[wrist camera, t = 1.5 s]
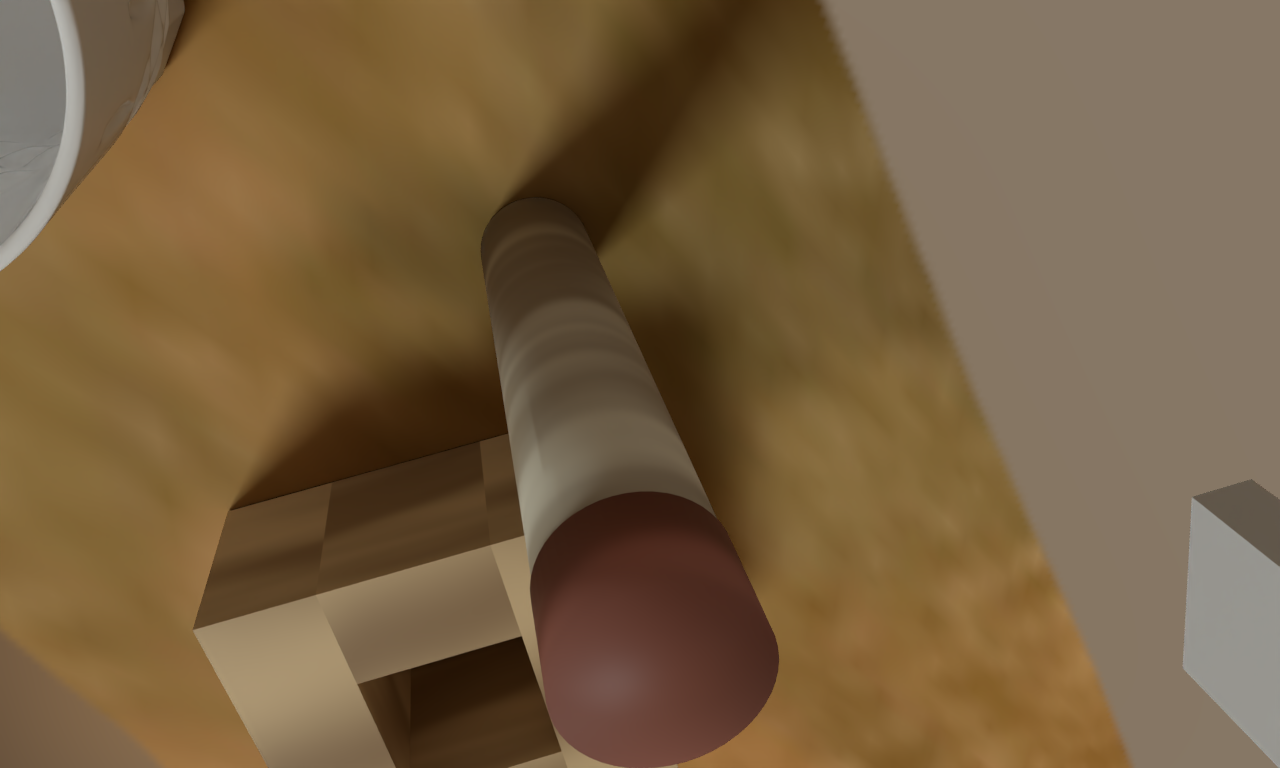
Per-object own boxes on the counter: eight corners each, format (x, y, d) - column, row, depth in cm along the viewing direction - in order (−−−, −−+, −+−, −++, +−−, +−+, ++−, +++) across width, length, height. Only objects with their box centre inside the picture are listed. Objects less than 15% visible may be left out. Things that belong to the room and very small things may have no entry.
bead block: (228, 511, 28) (192, 630, 24) (579, 413, 29) (608, 511, 25) (350, 760, 33) (339, 897, 29) (650, 671, 34) (684, 791, 29)
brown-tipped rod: (464, 212, 26) (518, 625, 12) (576, 182, 26) (760, 554, 12) (496, 314, 27) (577, 794, 13) (602, 286, 27) (793, 729, 13)
